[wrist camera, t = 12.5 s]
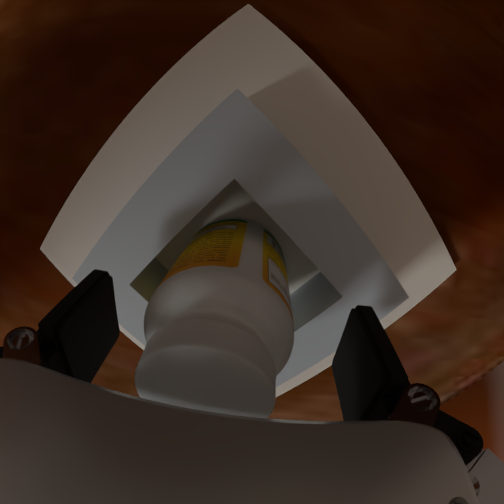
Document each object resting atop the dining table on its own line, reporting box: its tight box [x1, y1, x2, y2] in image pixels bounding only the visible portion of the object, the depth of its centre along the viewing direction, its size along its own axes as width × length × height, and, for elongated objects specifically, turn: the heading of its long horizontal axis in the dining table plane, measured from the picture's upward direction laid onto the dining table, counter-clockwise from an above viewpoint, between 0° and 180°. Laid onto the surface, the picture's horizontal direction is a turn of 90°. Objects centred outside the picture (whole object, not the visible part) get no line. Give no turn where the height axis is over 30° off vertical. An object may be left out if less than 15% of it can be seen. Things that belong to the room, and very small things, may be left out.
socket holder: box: [40, 4, 456, 397], centre depth 15 cm, size 20×20×4 cm
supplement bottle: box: [135, 217, 294, 418], centre depth 12 cm, size 5×5×10 cm
